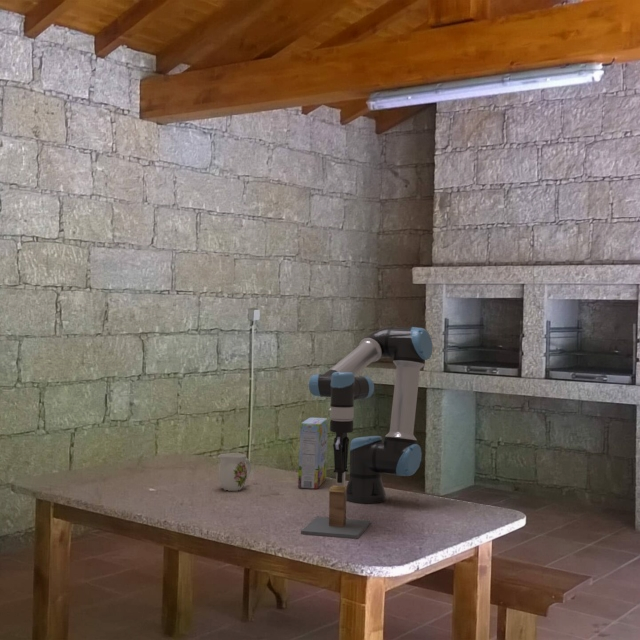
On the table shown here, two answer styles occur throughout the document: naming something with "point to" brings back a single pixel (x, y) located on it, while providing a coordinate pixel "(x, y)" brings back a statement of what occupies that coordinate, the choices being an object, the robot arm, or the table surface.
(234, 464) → the pitcher
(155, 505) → the table surface
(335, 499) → the post
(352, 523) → the mat
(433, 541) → the table surface
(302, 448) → the snack box
